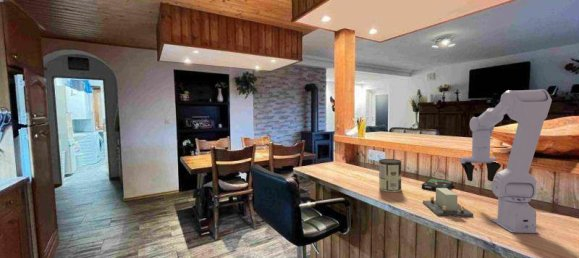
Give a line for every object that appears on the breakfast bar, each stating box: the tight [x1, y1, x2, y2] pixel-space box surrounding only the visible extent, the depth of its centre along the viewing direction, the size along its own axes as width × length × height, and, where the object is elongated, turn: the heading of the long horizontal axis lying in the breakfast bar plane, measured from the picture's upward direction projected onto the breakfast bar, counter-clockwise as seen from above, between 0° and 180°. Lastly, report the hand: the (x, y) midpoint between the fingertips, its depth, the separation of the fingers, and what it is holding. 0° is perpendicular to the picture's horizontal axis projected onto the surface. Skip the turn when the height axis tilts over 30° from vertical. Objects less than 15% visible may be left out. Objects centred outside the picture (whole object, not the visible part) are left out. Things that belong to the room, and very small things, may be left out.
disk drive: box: [421, 178, 454, 192], centre depth 125 cm, size 10×3×15 cm
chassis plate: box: [422, 196, 474, 218], centre depth 97 cm, size 13×12×3 cm
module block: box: [435, 188, 459, 211], centre depth 97 cm, size 4×8×6 cm, turn 174°
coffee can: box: [378, 158, 402, 193], centre depth 123 cm, size 10×10×14 cm
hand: (479, 180), depth 102 cm, fingers open, 7 cm apart
